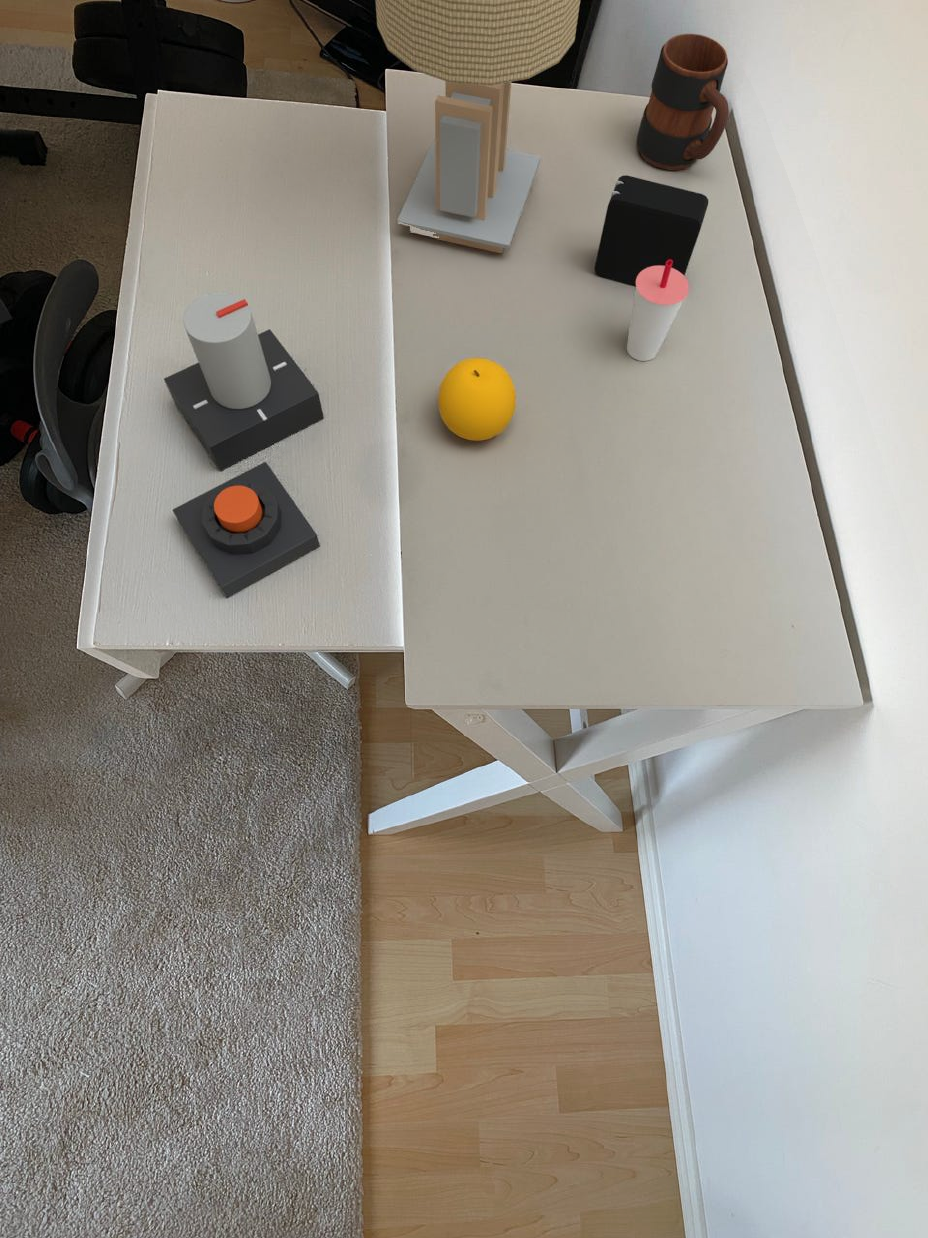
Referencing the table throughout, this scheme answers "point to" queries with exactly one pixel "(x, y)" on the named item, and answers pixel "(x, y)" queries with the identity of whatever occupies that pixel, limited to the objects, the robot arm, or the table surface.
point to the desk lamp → (475, 106)
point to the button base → (248, 532)
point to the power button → (238, 509)
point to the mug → (684, 103)
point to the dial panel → (253, 427)
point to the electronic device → (648, 228)
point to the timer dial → (228, 349)
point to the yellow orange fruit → (477, 399)
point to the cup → (654, 309)
